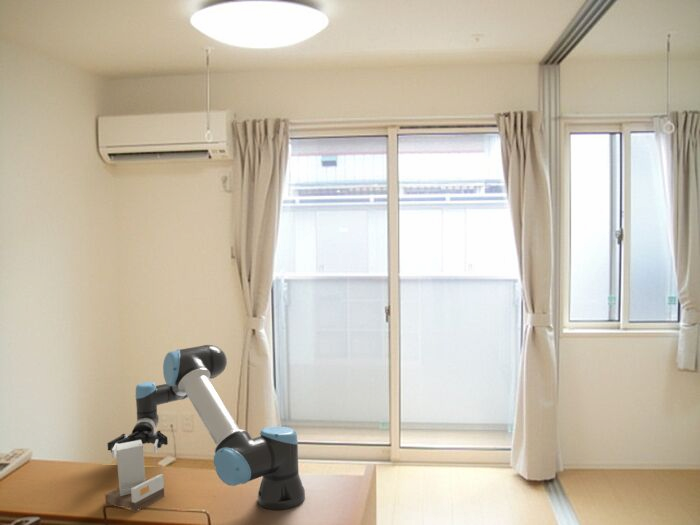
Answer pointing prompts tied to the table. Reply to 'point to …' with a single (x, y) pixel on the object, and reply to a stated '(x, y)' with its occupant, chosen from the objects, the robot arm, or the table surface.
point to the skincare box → (130, 465)
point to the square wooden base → (138, 494)
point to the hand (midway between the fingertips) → (134, 451)
